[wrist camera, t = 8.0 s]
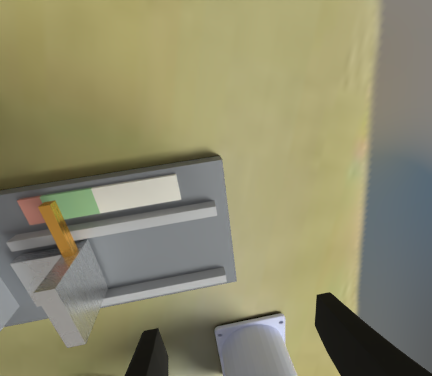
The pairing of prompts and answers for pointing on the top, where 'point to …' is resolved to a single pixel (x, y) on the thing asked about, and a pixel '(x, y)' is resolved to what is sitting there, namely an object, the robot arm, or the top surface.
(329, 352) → the robot arm
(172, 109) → the top surface
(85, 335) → the gauge pointer slider
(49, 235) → the gauge base
